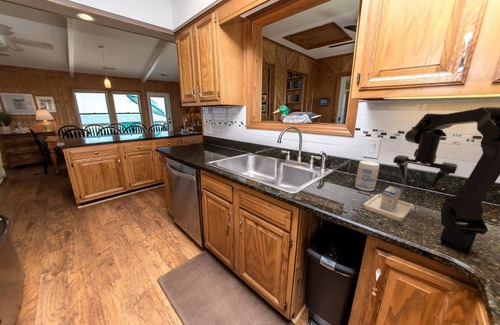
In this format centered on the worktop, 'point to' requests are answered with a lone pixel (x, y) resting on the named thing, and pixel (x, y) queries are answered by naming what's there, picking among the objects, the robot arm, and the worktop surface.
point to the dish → (395, 214)
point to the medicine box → (390, 198)
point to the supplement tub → (367, 175)
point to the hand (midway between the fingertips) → (417, 183)
